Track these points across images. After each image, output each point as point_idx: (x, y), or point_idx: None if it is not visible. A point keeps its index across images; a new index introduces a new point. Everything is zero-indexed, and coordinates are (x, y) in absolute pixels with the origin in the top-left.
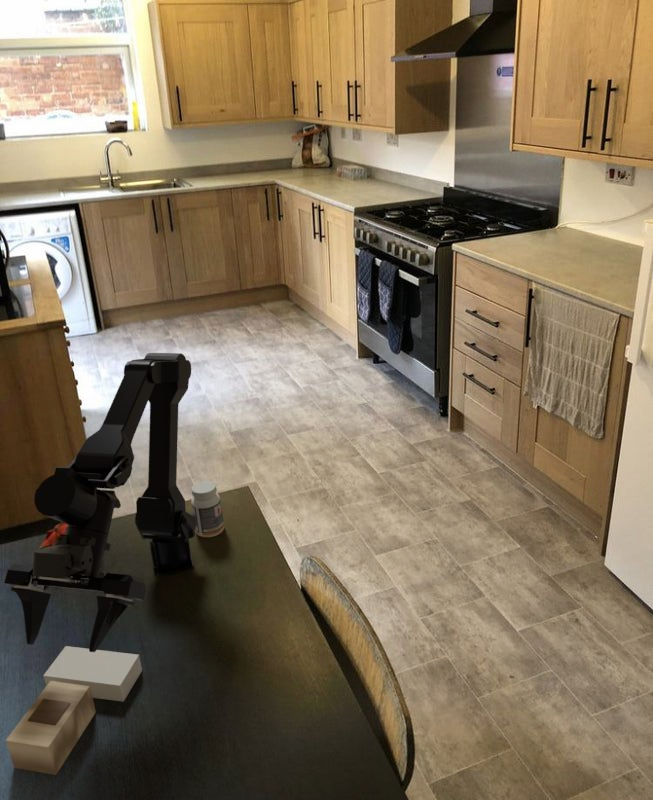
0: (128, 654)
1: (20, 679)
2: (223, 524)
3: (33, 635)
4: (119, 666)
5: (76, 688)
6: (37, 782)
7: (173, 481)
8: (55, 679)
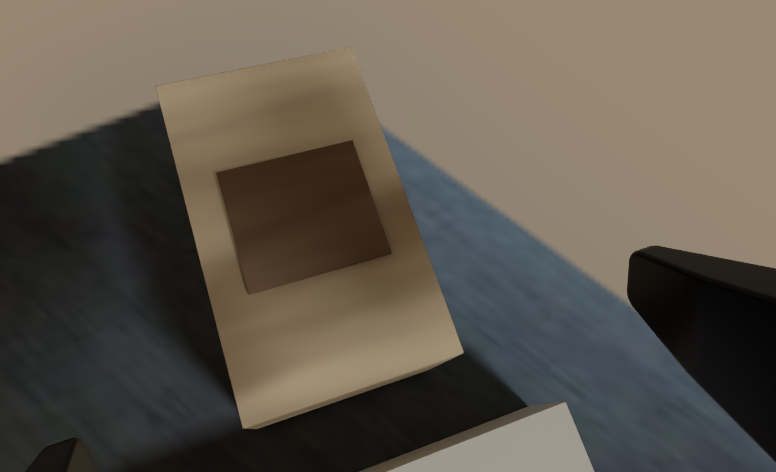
0: None
1: (676, 396)
2: None
3: (679, 308)
4: None
5: (296, 379)
6: None
7: None
8: (505, 423)
